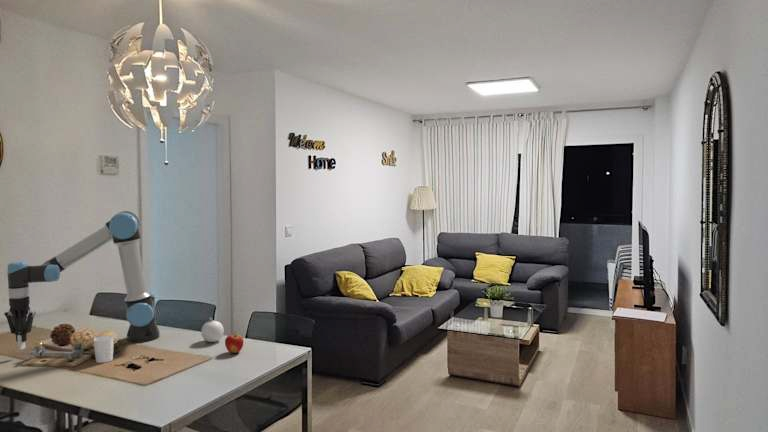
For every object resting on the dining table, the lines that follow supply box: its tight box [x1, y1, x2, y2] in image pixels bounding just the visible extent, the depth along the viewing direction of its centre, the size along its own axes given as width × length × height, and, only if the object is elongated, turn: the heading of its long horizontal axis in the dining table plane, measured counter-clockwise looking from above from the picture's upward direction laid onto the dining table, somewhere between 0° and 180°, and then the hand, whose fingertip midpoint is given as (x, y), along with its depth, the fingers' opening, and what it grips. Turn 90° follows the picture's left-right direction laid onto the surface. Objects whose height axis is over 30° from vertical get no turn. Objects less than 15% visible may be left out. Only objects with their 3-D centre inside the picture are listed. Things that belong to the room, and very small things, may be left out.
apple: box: [224, 331, 244, 354], centre depth 248 cm, size 8×8×10 cm
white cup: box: [93, 335, 115, 364], centre depth 238 cm, size 8×8×10 cm
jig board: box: [22, 354, 91, 367], centre depth 237 cm, size 23×12×1 cm, turn 87°
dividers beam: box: [40, 342, 85, 361], centre depth 238 cm, size 20×8×6 cm, turn 87°
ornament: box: [201, 317, 225, 343], centre depth 265 cm, size 10×10×12 cm
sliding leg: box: [26, 341, 46, 360], centre depth 238 cm, size 3×8×6 cm, turn 177°
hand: (21, 348), depth 241 cm, fingers closed
